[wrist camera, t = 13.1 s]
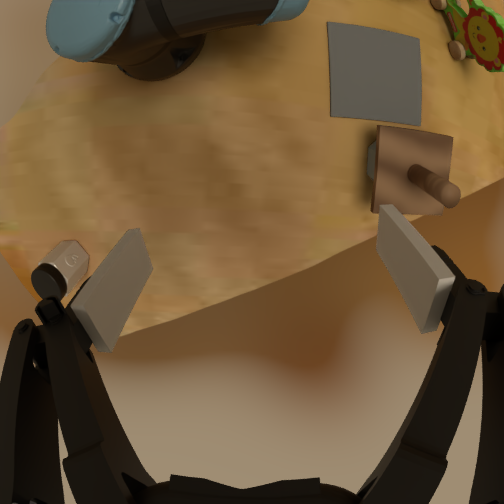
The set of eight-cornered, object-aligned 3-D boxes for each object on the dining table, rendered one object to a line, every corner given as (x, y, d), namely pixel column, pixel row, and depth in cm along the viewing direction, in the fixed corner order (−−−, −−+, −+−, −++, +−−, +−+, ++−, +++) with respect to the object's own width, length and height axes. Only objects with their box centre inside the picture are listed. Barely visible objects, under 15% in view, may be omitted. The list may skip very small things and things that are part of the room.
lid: (376, 124, 35) (413, 135, 25) (449, 136, 34) (493, 152, 24) (370, 210, 41) (398, 245, 31) (438, 212, 40) (475, 244, 30)
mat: (326, 22, 32) (327, 21, 32) (417, 39, 31) (419, 38, 31) (330, 116, 40) (331, 116, 40) (419, 125, 39) (420, 126, 39)
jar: (96, 262, 55) (69, 296, 45) (78, 278, 58) (52, 311, 47) (70, 231, 52) (38, 260, 41) (54, 249, 54) (24, 278, 44)
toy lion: (424, -7, 26) (472, -28, 13) (446, -5, 25) (494, -22, 12) (455, 72, 33) (511, 73, 20) (474, 70, 32) (529, 74, 19)
